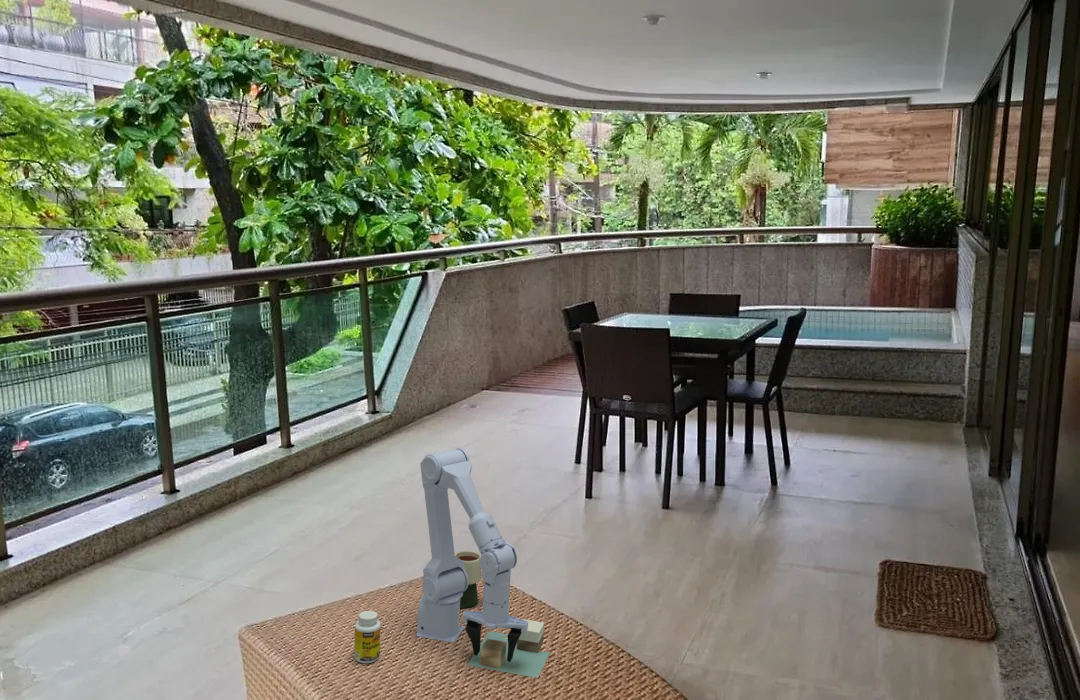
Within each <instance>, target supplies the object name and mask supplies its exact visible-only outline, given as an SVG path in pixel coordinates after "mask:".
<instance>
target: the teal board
mask: <svg viewBox="0 0 1080 700" xmlns="http://www.w3.org/2000/svg"><path fill="white" fill-rule="evenodd" d="M504 636H506V637H504ZM505 638H507V633H504V632H503V633H502V632H498V631H497V632H495V631H491V630H488V632H487V633H486V634H485V637H484V638H483V639H482V641H481V642H480V652H479V653H478V655H477V656H475V655H474V654H473V655H472V656H471V659H470V660H469V661H468V663H467V666H471V667H476V668H482V669H487V670H492V671H498V672H504V673H509V674H513V675H519V676H525V677H529V678H536V679H538V678H539V677H540V675H541V672H542V670H543V668H544V667H545V664H546V662H547V659H548V658H549V656H550V653H551V651H550V652H542V651H539V652H538V653H534V652H528V651H523V650H517V644H516V647H515V650H514V653H513V658H512V660H511V662H508V661H507V655H508V639H505ZM487 639H492V640H498V641H503V642H507V643H506V659H505V661H504V663H503V664H502V666H501V668H500V669H498V668H493V667H487V666H482V665H480V661H481V648H482V646H483V645H484V643H485V641H486V640H487Z"/></svg>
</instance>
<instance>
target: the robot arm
mask: <svg viewBox="0 0 1080 700" xmlns="http://www.w3.org/2000/svg"><path fill="white" fill-rule="evenodd" d="M472 465H473V464H472V463H471V461H470V457H469V455H468V452H466V451H465V449H463V448H459V447H457V448H455V449H451V450H446V451H441V452H435V453H429V454H426V455H425V456H424V458H423V459H422V460H421V462H420V471H421V481H422V488H423V490H424V491H423V492H424V499H425V500H424V501H425V507H426V509H425V510H426V517H427V525H428V534H429V542H430V553H431V559H430V560H429V561H428V563H427V564H426V565H425V567H423V569H422V574H423V578H422V585H421V587H422V588H421V589H422V593H423V594H422V595H421V598H420V599H419V602H418V606H417V622H416V623H417V627H416V628H417V630H416V632H417V633H416V634H415V637H419V638H424V639H425V638H426V639H430V640H435V641H441V642H446V643H452V644H454V643H455V642H456V641H457V639H458V638H459V636H460V635H461V634H462V633H463V631H464V630H465V632H466V634H467V635H468V638H469V639H470V642H471V646H472V650H473V655H475V656H477V655H478V653H479V652H480V644H481V634H482V626H483V625H484V626H485V628H486V629H489V630H495V629H497V628H500V629H501V628H502V629H508V630H510V631H509V632H508V635H507V638H508V655H507V661H508V662H511V660H512V658H513V653H514V650H515V647H516V644H517V641H518V639H519V637H520V635H521V633H526V632H527V630H528V621H525V620H526V619H525V620H523V619H521V618H519V617H515V616H513V615H510V614H509V612H510V611H509V610H510V595H511V594H510V593H511V575H512V574H511V572H512V569H514V568H515V567H516V566H517V563H518V555H517V552H516V549H515V547H514V546H513V544H511V543H509V542H508V541H507V539H506V538H503V536H502V534H501V531H500V530H499V527H498V526H497V524H496V522H495V519H494V518H493V515H491V514H489V513H487V512H485V510H484V507H483V505H482V503H481V499H480V497H479V495H478V492H477V490H476V487H475V485H474V482H473V479H472V476H471V473H472V470H473V469H472V467H473V466H472ZM449 489H450V490H453V491H454V494H455V495H456V497H457V498H458V501H460V504H461V505H462V507H463V508H464V510H465V513H466V515H467V516H468V518H469V523H468V530H469V532H470V534H471V536H472V538H473V540H474V543H475V544H476V546H477V548H478V551H479V554H480V555H481V558H479V564H480V567H481V573H482V576H481V578H482V580H483V598H482V610H480V611H479V610H477V611H476V610H473V611H472V610H465V611H463V613H462V620H461V621H462V622H461V623H464V624H465V623H466V625H465V626H464V625H460V614H461V613H460V611H461V607H460V598H461V597H463V592H464V591H466V589H467V588H468V575H467V573H466V571H465V568H464V562H463V561H462V560H460V559H459V558H457V557H456V556H455V546H454V538H453V537H454V536H453V527H452V519H451V511H450V510H451V509H450V502H449V493H448V490H449Z"/></svg>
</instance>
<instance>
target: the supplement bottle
mask: <svg viewBox="0 0 1080 700" xmlns="http://www.w3.org/2000/svg"><path fill="white" fill-rule="evenodd" d="M381 624H382V623H381V622H380V621H379V620H378V613H377V612H376V611H373V610H365V611H362V612H360V613H359V614H358V620H357V622H355V625H354V644H353V645H354V646H353V648H354V649H353V650H354V651H353V652H354V654H353V657H354V660H355V661H357V662H358V663H361V664H371V663H374V662H376V661H377V660H379V658H380V656H381V655H380V653H381V629H382V626H381Z"/></svg>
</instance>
